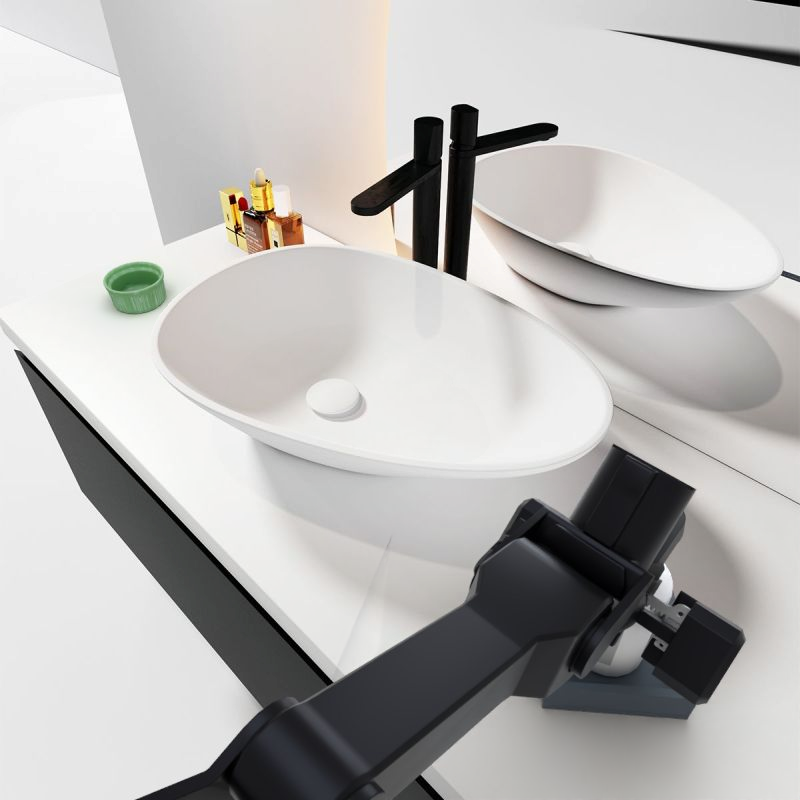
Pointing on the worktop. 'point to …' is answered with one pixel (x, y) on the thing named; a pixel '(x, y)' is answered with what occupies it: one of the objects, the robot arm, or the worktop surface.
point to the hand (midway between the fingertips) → (631, 587)
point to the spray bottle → (632, 639)
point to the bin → (621, 694)
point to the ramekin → (136, 286)
